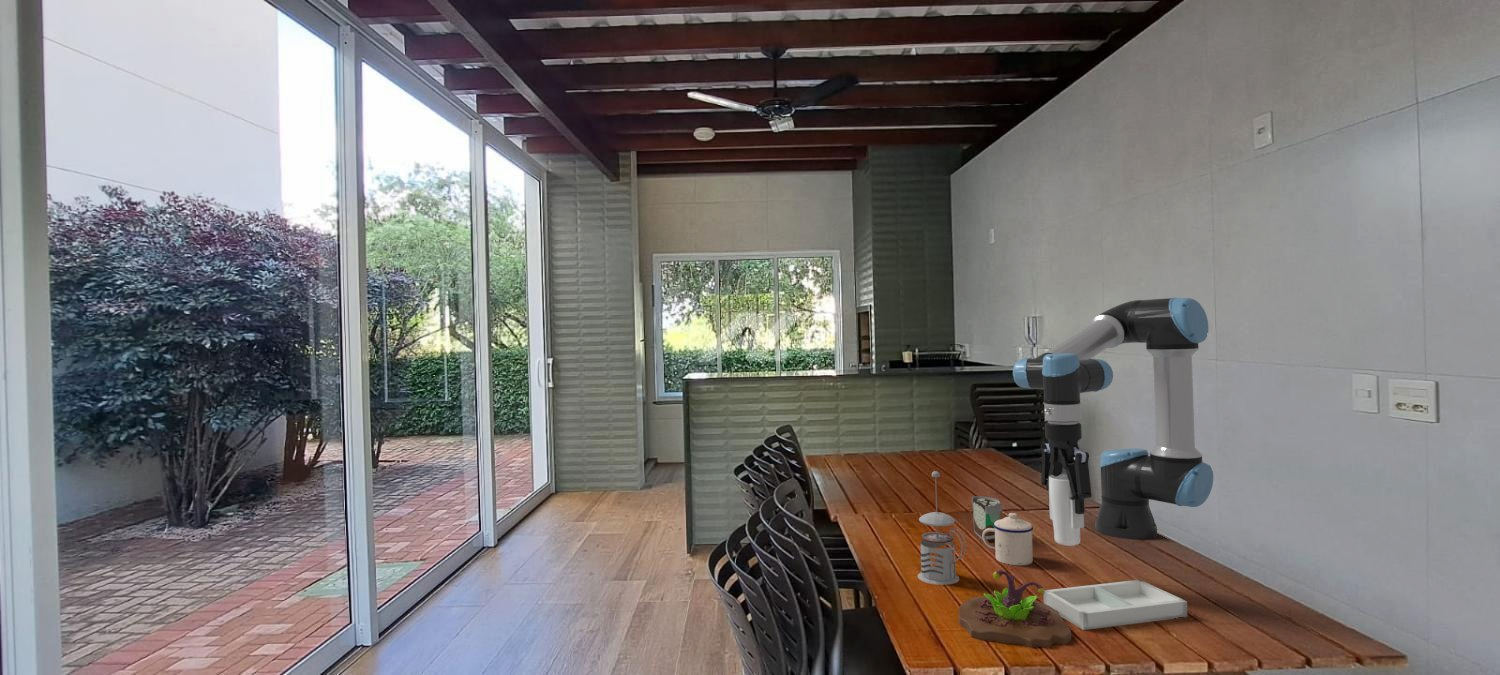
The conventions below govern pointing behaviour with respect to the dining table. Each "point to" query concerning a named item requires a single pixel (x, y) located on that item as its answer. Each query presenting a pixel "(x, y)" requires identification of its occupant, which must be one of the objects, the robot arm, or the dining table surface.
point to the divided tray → (1114, 604)
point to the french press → (946, 570)
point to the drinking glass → (1062, 511)
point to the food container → (985, 515)
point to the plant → (1013, 617)
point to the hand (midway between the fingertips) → (1066, 522)
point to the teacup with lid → (1012, 540)
